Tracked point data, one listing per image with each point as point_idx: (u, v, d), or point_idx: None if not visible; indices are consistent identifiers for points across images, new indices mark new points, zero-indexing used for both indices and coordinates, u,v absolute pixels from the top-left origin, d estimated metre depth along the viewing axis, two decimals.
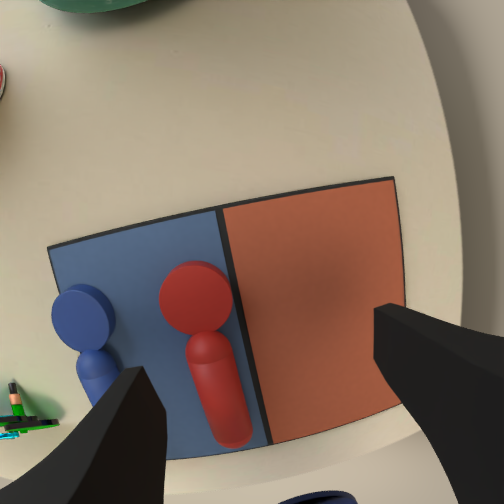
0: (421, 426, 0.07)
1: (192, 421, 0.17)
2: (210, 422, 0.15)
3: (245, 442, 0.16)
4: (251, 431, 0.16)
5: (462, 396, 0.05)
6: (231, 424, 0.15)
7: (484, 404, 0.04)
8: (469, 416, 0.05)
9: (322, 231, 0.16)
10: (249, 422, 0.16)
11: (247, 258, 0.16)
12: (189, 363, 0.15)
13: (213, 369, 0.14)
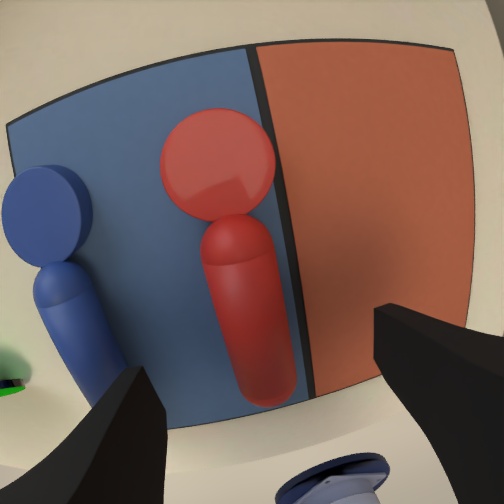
0: (421, 427, 0.07)
1: (206, 370, 0.13)
2: (238, 368, 0.11)
3: (288, 396, 0.11)
4: (296, 379, 0.12)
5: (462, 396, 0.05)
6: (271, 368, 0.10)
7: (484, 404, 0.04)
8: (469, 416, 0.05)
9: (385, 90, 0.10)
10: (294, 365, 0.11)
11: (291, 112, 0.10)
12: (207, 267, 0.10)
13: (248, 273, 0.09)
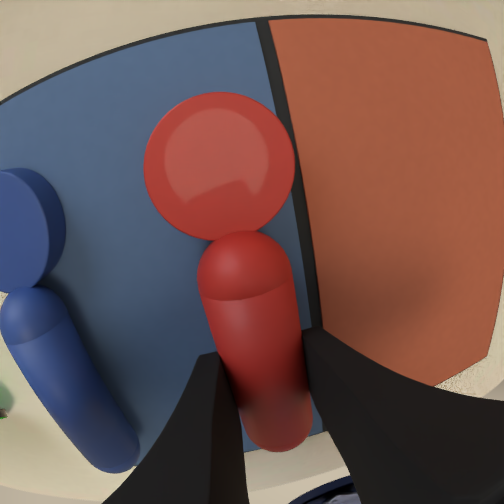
0: (344, 460, 0.07)
1: None
2: (245, 414, 0.09)
3: (303, 440, 0.09)
4: (312, 420, 0.09)
5: (365, 444, 0.05)
6: (285, 415, 0.08)
7: (380, 461, 0.04)
8: (372, 467, 0.04)
9: (420, 79, 0.08)
10: (310, 406, 0.09)
11: (313, 101, 0.08)
12: (206, 301, 0.07)
13: (260, 310, 0.07)
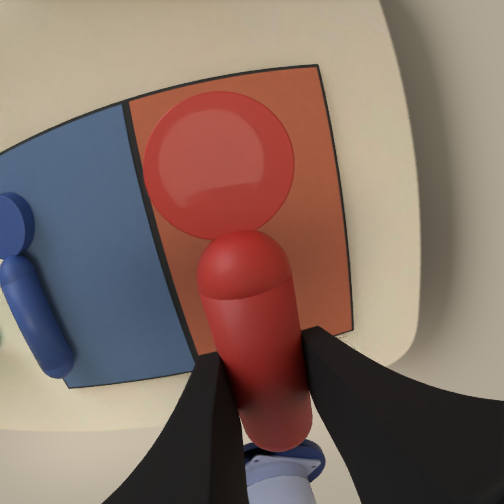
0: (344, 460, 0.07)
1: (114, 337, 0.17)
2: (244, 413, 0.09)
3: (302, 440, 0.09)
4: (311, 420, 0.09)
5: (365, 444, 0.05)
6: (285, 415, 0.08)
7: (380, 461, 0.04)
8: (372, 467, 0.04)
9: None
10: (310, 406, 0.09)
11: None
12: (206, 300, 0.07)
13: (260, 309, 0.07)
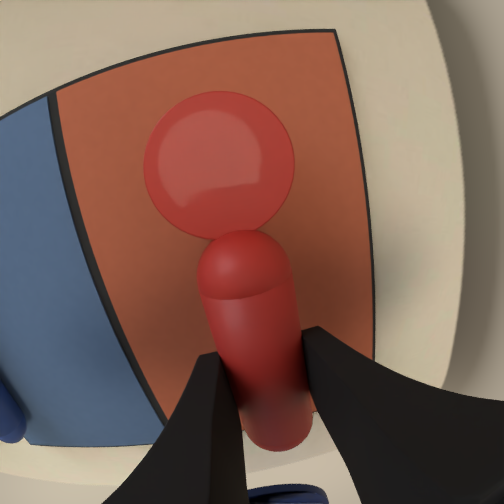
0: (344, 459, 0.07)
1: (67, 401, 0.12)
2: (244, 413, 0.09)
3: (303, 439, 0.09)
4: (312, 419, 0.09)
5: (365, 444, 0.05)
6: (285, 415, 0.08)
7: (380, 461, 0.04)
8: (372, 466, 0.04)
9: None
10: (310, 405, 0.09)
11: (87, 157, 0.09)
12: (206, 300, 0.07)
13: (260, 309, 0.07)
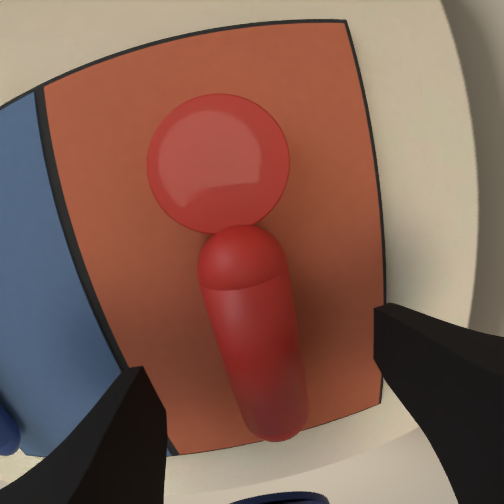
0: (421, 426, 0.07)
1: (62, 414, 0.11)
2: (243, 403, 0.09)
3: (299, 430, 0.09)
4: (308, 410, 0.10)
5: (462, 396, 0.05)
6: (282, 404, 0.09)
7: (484, 404, 0.04)
8: (469, 416, 0.05)
9: None
10: (307, 396, 0.10)
11: (76, 158, 0.08)
12: (206, 291, 0.08)
13: (257, 299, 0.07)
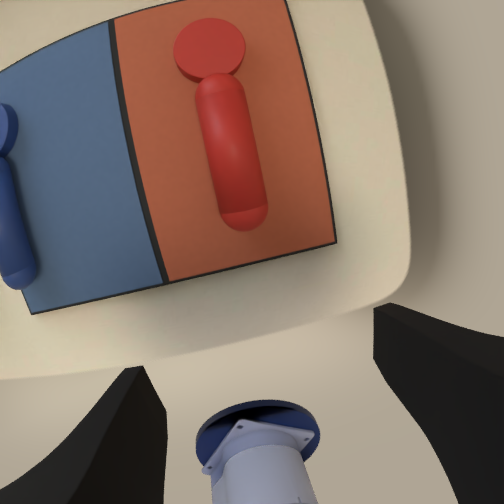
0: (421, 426, 0.07)
1: (78, 243, 0.16)
2: (218, 181, 0.14)
3: (260, 214, 0.15)
4: (267, 203, 0.15)
5: (462, 396, 0.05)
6: (244, 177, 0.14)
7: (484, 404, 0.04)
8: (469, 416, 0.05)
9: None
10: (264, 188, 0.15)
11: (131, 52, 0.13)
12: (199, 100, 0.13)
13: (226, 98, 0.13)
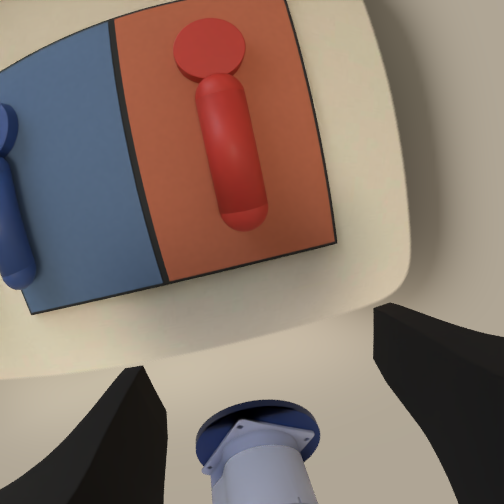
0: (421, 426, 0.07)
1: (78, 243, 0.16)
2: (218, 181, 0.14)
3: (260, 214, 0.15)
4: (267, 203, 0.15)
5: (462, 396, 0.05)
6: (244, 177, 0.14)
7: (484, 404, 0.04)
8: (469, 416, 0.05)
9: None
10: (264, 188, 0.15)
11: (131, 52, 0.13)
12: (199, 100, 0.13)
13: (226, 98, 0.13)
